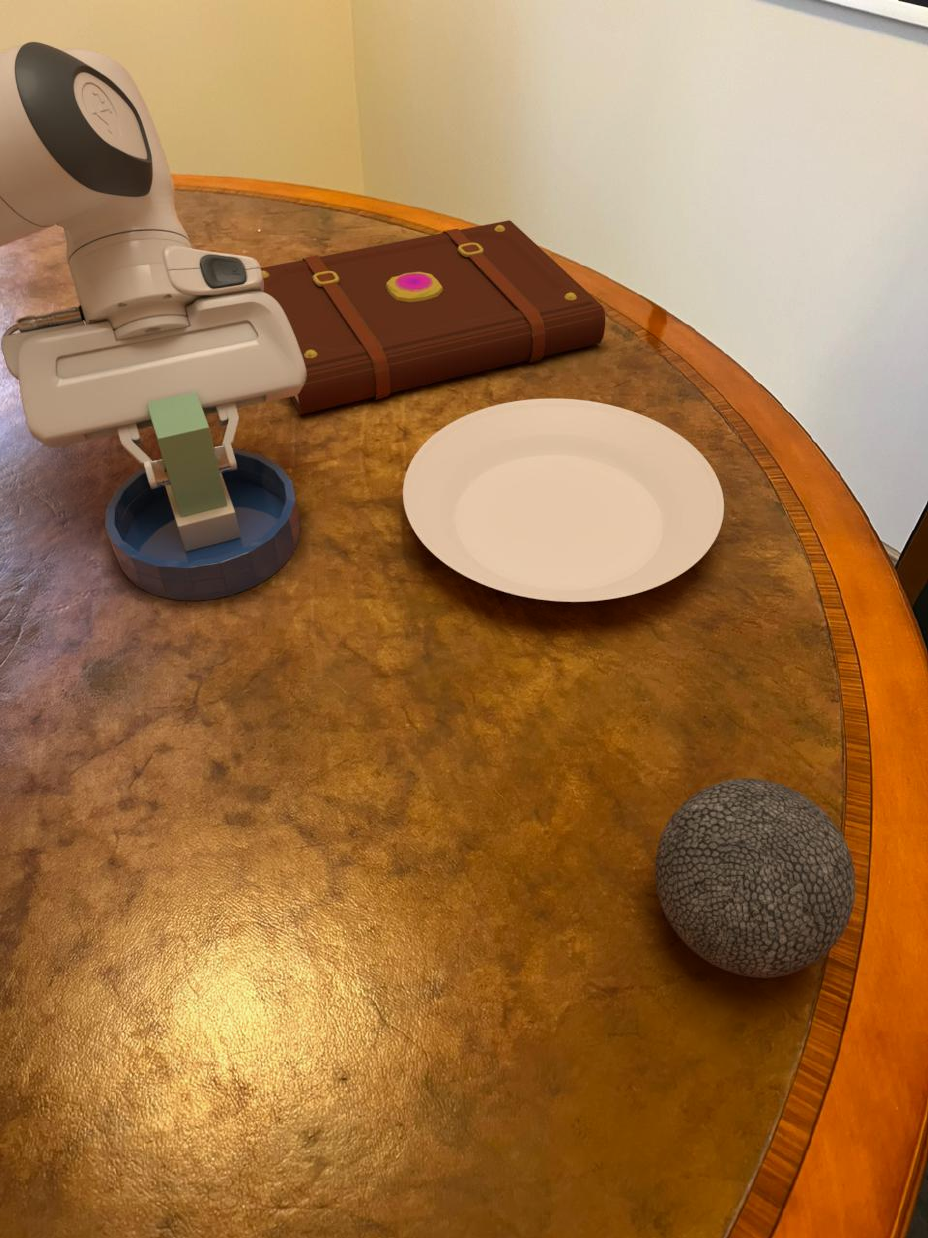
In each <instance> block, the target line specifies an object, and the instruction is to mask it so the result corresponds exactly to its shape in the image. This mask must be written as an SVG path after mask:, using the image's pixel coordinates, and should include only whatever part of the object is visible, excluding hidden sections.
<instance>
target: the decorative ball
mask: <svg viewBox="0 0 928 1238" xmlns="http://www.w3.org/2000/svg"><path fill="white" fill-rule="evenodd" d="M656 848H657V849H656V854H655V861H654V862H655V864H654V878H655V879H654V880H655V888H656V893H657V897H658V901H659V904H660V905H661V908H662V911H663V913H664V915H665V917H666V919H667V921H668V923H669V924H670V926H671V928H672V929H673V931H674V932H675V933H676V935H677V936H678V937H679V938H680V939H681V941H683V943H684V944H685V945H686V946H687V947H688V948H689V949H690V950H691V951H693V952H694V953H695V954H696V955H698V956H699V957H700V958H702V959H703V960H705V961H706V962H708V963H709V964H711V965H712V966H715V967H716V968H719V969H721V970H723V971H727V972H729V973H731V974H736V975H738V976H744V977H750V978H758V979H759V978H761V979H767V978H768V979H769V978H777V977H783V976H787V975H790V974H794V973H796V972H800V971H801V970H804V969H806V968H808V967H810V966H812V965H813V964H815V963H817V962H818V961H820V960H821V959H822V958H823V957H824V956H825V955H827V954H828V953H829V952H830V951H831V950H832V949H833V948H834V947H835V946H836V944H837V943H838V942H839V940H840V938H841V937H842V936H843V934H844V932H845V931H846V929H847V927H848V925H849V922H850V920H851V917H852V913H853V910H854V905H855V899H856V898H855V897H856V875H855V868H854V861H853V858H852V855H851V852H850V849H849V846H848V843H847V842H846V840H845V837H844V836H843V834H842V833H841V831H840V829H839V828H838V827H837V825H836V824H835V822H834V821H833V820H832V818H830V816H829V815H828V814H827V813H826V812H825V811H824V810H823V809H822V808H821V807H820V806H819V805H818V804H817V803H815V802H814V801H812V800H811V799H810V798H808V797H807V796H806V795H804V794H802V793H800V792H799V791H797V790H795V789H793V788H790V787H788V786H786V785H783V784H780V783H777V782H774V781H770V780H765V779H760V778H748V777H745V778H733V779H727V780H724V781H721V782H716V783H714V784H712V785H710V786H708V787H705V788H703V789H701V790H700V791H698V792H696V793H694V794H693V795H692V796H690V797H689V798H688V799H686V800H685V801H684V802H683V803H682V804H681V805H680V806H679V807H678V808H677V809H676V811H675V812H674V813H673V814H672V816H671V817H670V818H669V820H668V821H667V822H666V825H665V827H664V829H663V831H662V832H661V836H660V838H659V841H658V844H657V847H656Z"/></svg>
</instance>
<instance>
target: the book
mask: <svg viewBox="0 0 928 1238" xmlns="http://www.w3.org/2000/svg"><path fill="white" fill-rule="evenodd" d="M260 268H261V271H262V275H263V280H264V293H267V294H269V295H270V296H272V297H273V298H274V299H275V300H276V301H277V302H278V303H279V304H280V306H281V307H282V309H283V311H284V312H285V314H286V316H287V319H288V321H289V323H290V325H291V327H292V330H293V332H294V335H295V337H296V340H297V342H298V345H299V348H300V351H301V354H302V357H303V360H304V363H305V367H306V371H307V378H306V381H305V384H304V386H303V388H302V389H301V391H300V393H299V394H298V395H296V396H292V397H290V399H291V401H292V403H293V405H294V406H295V408H296V410H297V412H298V414H299V415H305V414H308V413H313V412H317V411H322V410H326V409H331V408H334V407H338V406H342V405H347V404H351V403H355V402H360V401H364V400H367V399H372V398H373V399H374V400H376V401H377V400H381V399H384V398H388V397H389V396H390V394H392V393H398V392H400V391H405V390H410V389H415V388H417V387H422V386H426V385H430V384H434V383H435V384H436V383H439V382H442V381H443V382H444V381H446V380H451V379H457V378H460V377H464V376H469V375H473V374H476V373H480V372H485V371H489V370H493V369H494V370H495V369H497V368H502V367H505V366H510V365H514V364H518V363H523V362H527V363H528V364H532V363H535V362H538V361H541V360H542V359H543V358H544V357H548V356H553V355H556V354H561V353H565V352H569V351H572V350H573V351H574V350H577V349H582V348H586V347H590V346H594V345H599V344H601V343H602V341H603V339H604V336H605V331H606V313H605V308H604V306H603V304H601V303H600V302H599V301H598V300H597V299H596V298H595V297H594V296H593V295H591V294H590V292H589V291H587V290H586V289H585V288H584V286H582V285H581V284H580V283H579V282H578V281H577V280H575V279H574V278H573V277H572V276H571V275H570V274H569V273H568V272H567V271H566V270H565V269H564V268H563V267H561V266H560V265H559V264H558V263H557V262H556V260H554V259H553V258H552V257H551V256H549V255H548V254H547V252H545V251H544V249H542V248H541V247H540V246H539V245H537V244H536V243H535V242H534V241H533V240H532V239H531V238H530V237H529V236H528V235H527V234H526V233H525V232H524V231H522V230H521V228H519V226H518V225H516V223H514V222H513V221H512V220H511V219H509V220H503V221H499V222H494V223H487V224H483V225H477V226H471V227H467V228H462V229H459V228H452V229H447V230H442V232H440V233H437V234H430V235H425V236H420V237H414V238H411V239H404V240H400V241H399V240H398V241H394V242H389V243H384V244H379V245H373V246H368V247H363V248H358V249H353V250H347V251H343V252H337V253H331V254H327V255H322V256H320V255H312V256H311V255H310V256H306V257H303V258H302V259H301V260H295V261H290V262H285V263H279V264H274V265H270V266H264V267H260Z"/></svg>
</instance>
